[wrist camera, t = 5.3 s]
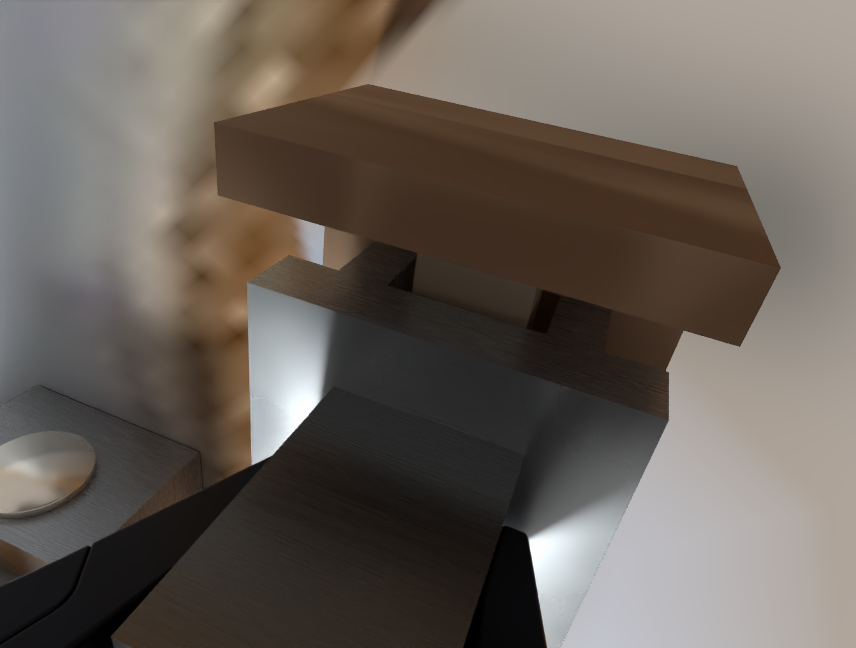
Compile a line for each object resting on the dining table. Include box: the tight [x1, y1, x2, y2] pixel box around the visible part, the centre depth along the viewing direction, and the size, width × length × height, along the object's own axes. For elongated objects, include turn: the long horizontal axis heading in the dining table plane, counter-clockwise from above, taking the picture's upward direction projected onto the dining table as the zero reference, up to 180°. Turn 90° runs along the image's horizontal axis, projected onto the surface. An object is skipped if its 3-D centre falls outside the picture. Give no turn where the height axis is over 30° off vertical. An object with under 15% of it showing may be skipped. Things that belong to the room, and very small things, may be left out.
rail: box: [214, 84, 781, 371], centre depth 14 cm, size 22×7×5 cm, turn 171°
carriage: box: [111, 241, 669, 648], centre depth 9 cm, size 6×6×7 cm
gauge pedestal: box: [0, 385, 203, 577], centre depth 20 cm, size 7×7×5 cm
